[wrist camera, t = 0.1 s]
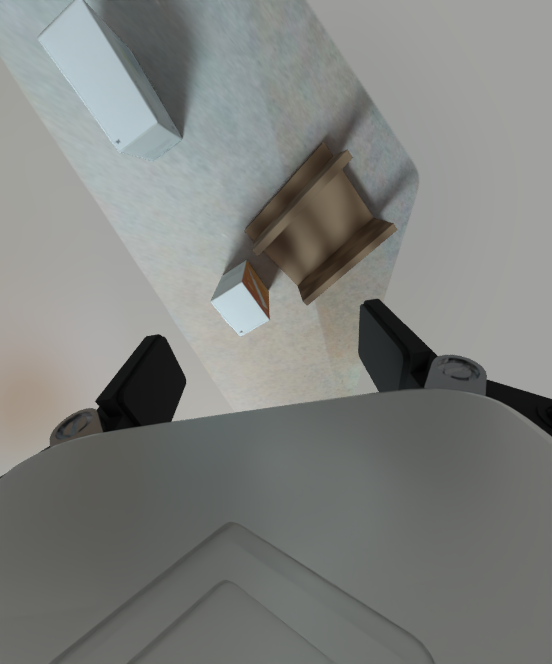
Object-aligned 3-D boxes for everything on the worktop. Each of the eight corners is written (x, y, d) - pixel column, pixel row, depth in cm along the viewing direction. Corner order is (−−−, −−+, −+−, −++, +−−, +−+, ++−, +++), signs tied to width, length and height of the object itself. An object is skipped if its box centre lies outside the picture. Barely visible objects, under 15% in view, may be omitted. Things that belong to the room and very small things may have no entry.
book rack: (307, 294, 50) (315, 313, 43) (245, 229, 43) (241, 239, 35) (380, 231, 44) (404, 241, 36) (321, 143, 37) (337, 132, 29)
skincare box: (185, 138, 35) (159, 122, 27) (152, 162, 37) (118, 155, 28) (131, 46, 30) (77, -11, 21) (96, 79, 32) (32, 38, 23)
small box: (269, 290, 49) (270, 320, 38) (244, 305, 51) (239, 338, 40) (247, 258, 45) (241, 281, 34) (221, 275, 47) (208, 302, 36)
